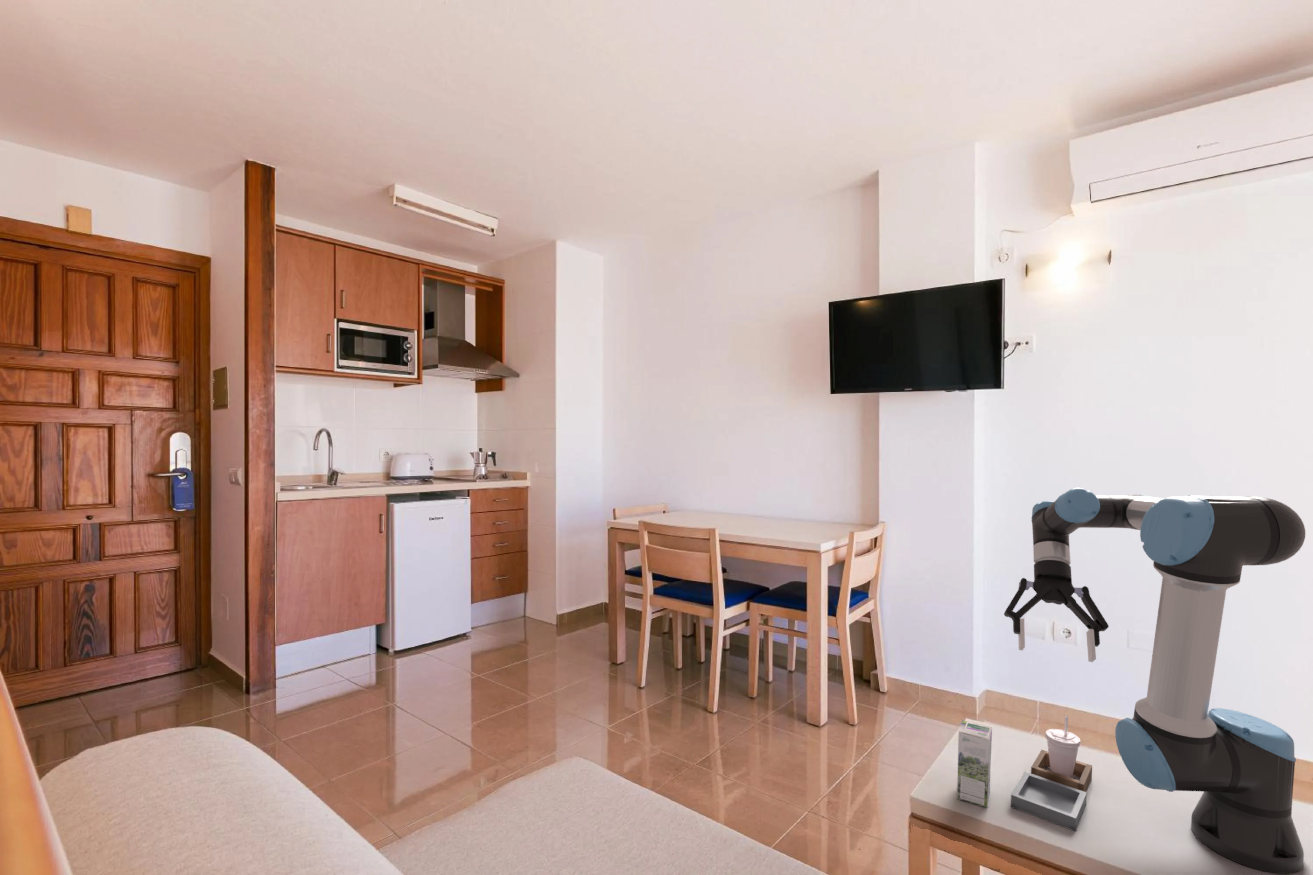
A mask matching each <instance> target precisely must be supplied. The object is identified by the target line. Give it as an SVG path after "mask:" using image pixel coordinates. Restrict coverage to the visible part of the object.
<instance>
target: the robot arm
mask: <svg viewBox="0 0 1313 875" xmlns="http://www.w3.org/2000/svg"><path fill="white" fill-rule="evenodd" d="M1031 511H1032V513H1031V525H1032V529H1031V530H1032V544H1033V546H1032V548H1033V549H1032V550H1033V563H1034V564H1033V578H1034V579H1033V581H1031V580H1027V578H1025V577H1022V578H1021V579H1020V581H1019V582H1018V588H1017V591H1016V593H1015V594H1014V596H1013V598H1011V601H1010V603H1009V604H1008V605H1007V608H1006V609H1005V611H1004V613H1003V615H1004V617H1006V618H1010V619H1011V620H1012V628H1013V630H1012V631H1013V634H1015V635H1018V650H1019V651H1023V650H1025V648H1026V640H1025V639H1026V637H1025V618H1022V617H1023V616H1025V615H1026V614H1027V613H1028V612H1029V611H1030V610H1032V609H1033V607H1035V605H1037V604H1038V603H1039V602H1040V601H1041V600H1042V601H1043V602H1044V603H1047V604H1055V605H1058V606H1059V605H1064V606H1065V607H1066V608H1067V609H1069V610H1070V611H1071V612H1072V613H1073V614H1074V615H1075V616H1076V617H1077V618H1078V619H1079V621H1080V622H1082V623H1083V625H1084V626H1085V627H1086V628H1087V629H1088V630H1087V631H1086V647H1087V657H1088V658H1087V660H1088V662H1090V663H1093V662H1095V660H1097V657H1096V656H1097V652H1096V647H1099V646H1100V644H1101V641H1100V640H1101V639H1100V638H1101V637H1100V632H1105V631H1106V630H1108V628H1109V623H1108V622H1107V621H1106V619H1105V618H1104V617H1105V616H1103V614H1102V612H1101V611H1100V609H1099V608H1098V606H1097V605H1096V602H1094V600H1093V598H1092V597H1091V594H1090V590H1089V587H1088V586H1087V585H1085V586H1082V587H1074V585H1073V581H1072V580H1073V579H1072V566H1071V552H1070V534H1072V533H1074V532H1076V530H1078V529H1081V528H1087V529H1089V528H1092V529H1093V528H1094V529H1105V528H1107V529H1110V528H1111V529H1115V528H1116V529H1131V530H1138V531H1140V532H1139V533H1140V534H1139V537H1140V541H1141V543H1143V545H1142V548H1143V551H1144V553H1145V554H1146V555H1147V557H1148V558H1149V559H1150V560H1152V562H1153V568H1154V569H1155V570H1156V572H1157V573H1159V574H1160V576H1161V577H1162V578H1161V579H1162V580H1161V587H1160V594H1159V603H1158V609H1157V617H1156V618H1157V619H1156V624H1155V625H1156V626H1155V632H1154V639H1153V640H1154V641H1153V646H1152V655H1151V663H1150V670H1149V678H1148V684H1147V694H1146V697H1143V698H1141V699H1138V700H1137V701H1136V702H1135V705H1134V710H1133V717H1132V718H1130V717H1125V718H1122V719H1120V720H1119V721H1118V722H1117V723H1116V726H1115V729H1114V730H1115V732H1114V735H1115V736H1114V737H1115V743H1116V746H1117V750H1118V754H1119V755H1120V757H1121V760H1122V762H1123V764H1124V766H1125V767H1126V768H1127V771H1128V772H1129V773H1130V775H1131V776H1133V778H1134V779H1135V780H1136V781H1137V782H1138V783H1139V784H1141V785H1143V786H1144V787H1147V788H1148V789H1151V790H1161V791H1162V790H1163V791H1166V792H1169V793H1171V792H1176V791H1177V792H1178V791H1180V792H1203V793H1202V794H1201V796H1200V798H1199V800H1198V802H1197V803H1196V806H1195V807H1194V809H1193V811H1192V813H1191V820H1190V828H1191V831H1192V833H1193V835H1194V836H1195V837H1196V838H1197V839H1198V840H1199V841H1200V842H1201V843H1202V844H1204V846H1206V847H1208V848H1209V849H1211V850H1212V851H1214V852H1215V853H1217V854H1219V855H1221V856H1222V857H1224V858H1227V859H1229V860H1230V861H1233V862H1236V863H1238V864H1240V865H1244V866H1246V867H1249V868H1252V869H1256V870H1260V871H1263V872H1269V873H1274V874H1292V873H1297V872H1299V871H1301V870H1302V869H1303V868H1304V856H1305V852H1304V848H1303V845H1302V842H1301V840H1300V837H1299V834H1298V831H1297V828H1296V826H1295V823H1294V820H1293V818H1292V816H1293V814H1292V811H1293V792H1294V781H1295V780H1294V778H1295V769H1296V768H1295V765H1296V761H1297V759H1296V756H1295V742H1294V739H1293V738H1292V736H1291V735H1290V734H1289V733H1288V732H1287V731H1286V730H1284V729H1282V728H1281V727H1279V726H1277V725H1275V724H1273V723H1271V722H1269V721H1267V720H1265V719H1262V718H1259V717H1257V716H1254V715H1251V714H1248V713H1245V712H1242V711H1238V710H1234V709H1227V708H1222V707H1221V708H1220V707H1217V708H1216V707H1215V708H1211V709H1210V710H1209V705H1210V701H1211V700H1210V699H1211V693H1212V687H1213V680H1214V674H1215V667H1216V661H1217V654H1218V648H1219V641H1220V640H1219V639H1220V636H1221V635H1220V633H1221V628H1222V620H1223V614H1224V608H1225V600H1226V596H1227V595H1226V594H1227V590H1228V589H1230V588H1232V587H1234V586H1237V585H1238V584H1240V582H1241V577H1242V570H1243V566H1268V565H1274V564H1279V563H1281V562H1285V561H1287V560H1289V559H1291V558H1292V557H1293V556H1295V555H1296V554H1297V553H1298V552H1299V551H1300V550H1301V548H1302V547H1303V546H1304V542H1305V540H1306V527H1305V524H1304V522H1303V520H1302V519H1301V517H1300V515H1299V514H1298V513H1297V512H1296V511H1295V510H1294V509H1292V508H1291V507H1290V506H1289V505H1286V504H1285V503H1283V502H1281V501H1279V500H1276V499H1272V498H1268V497H1262V496H1250V495H1249V496H1218V495H1214V496H1213V495H1194V494H1188V495H1183V496H1167V497H1164V498H1162V497H1154V496H1151V495H1145V494H1144V495H1142V494H1132V495H1130V494H1127V495H1126V494H1125V495H1121V494H1119V495H1117V494H1116V495H1115V494H1111V495H1109V494H1108V495H1107V494H1095V493H1094V492H1092V491H1091V490H1087V489H1086V488H1082V487H1075V488H1071V489H1069V490H1068V491H1066V492H1064V493H1062V494H1061V495H1059V496H1058V497H1057V499H1056V500H1044V501H1041V502H1037V503H1035V504H1034V505H1033V507H1032V510H1031ZM1030 588H1032V589H1033V591H1034V592H1035V593H1036V594H1035V595H1034V596H1033V597H1031V598H1030V599H1029V600H1028V601H1027V602H1026V603H1025V604H1024V605H1023V606H1022V607H1021V608H1019V609H1018V610H1017V611H1016V612H1015V611H1014V609H1015V607H1016V606H1017V605H1018V602H1019V601H1020V600H1021V598H1022V596H1023V595H1024V592H1025V591H1029V589H1030ZM1074 594H1076V595H1077V597H1078V598H1080V600H1081V602H1082V603H1083V605H1084V606H1085V608H1086V610H1087V612H1088V613H1089V614H1088V613H1087V612H1086V611H1085V610H1084V609H1083V608H1082V607H1081V605H1080V604H1078V602H1077V600H1076V599H1075V598H1074V597H1073V596H1072V595H1074Z"/></svg>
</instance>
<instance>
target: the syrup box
mask: <svg viewBox="0 0 1313 875" xmlns="http://www.w3.org/2000/svg"><path fill="white" fill-rule="evenodd" d="M992 737H993V728H992V726H989V725H984V724H980V723H977V722H973V721H972V722H971V721H968V720H963V719H962V720H961V723H960V725H959V729H958V737H957V738H958V740H957V741H958V743H957V745H958V747H957V778H956V779H957V782H956V783H957V786H956V799H958V800H960V801H963V802H967V803H970V804H974V805H977V806H981V807H983V808H984V807H985V808H988V806H989V801H990V796H991V769H992V768H991V764H992V763H991V761H992V742H993V740H992V739H993V738H992Z"/></svg>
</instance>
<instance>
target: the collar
mask: <svg viewBox="0 0 1313 875" xmlns="http://www.w3.org/2000/svg"><path fill="white" fill-rule="evenodd" d="M1046 767H1047V768H1049V769H1050V761H1049V752H1048V750H1045V749H1041V750H1040V752H1039V753H1038V755H1037V756H1036V758H1035V760H1034V762H1033V764H1032V765H1031V767H1030V773H1031V774H1034V775H1037V776H1040V777H1043V778H1046V779H1048V780H1051V781H1054V782H1057V783H1060V784H1063V785H1066V786H1069V787H1072V788H1075V789H1078V790H1081V791H1084V792H1088V788H1089V786H1090V784H1091V782H1092V779H1093V765H1092V764H1089V763H1085V762H1082V761H1079V760H1076V762H1075V768H1074V773H1073V777H1077V778H1079V780H1078V779H1075V778H1069V777H1066V776H1063V775H1060V774H1057V773H1054V772H1051V770H1047V769H1045V768H1046Z"/></svg>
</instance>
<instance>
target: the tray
mask: <svg viewBox="0 0 1313 875" xmlns="http://www.w3.org/2000/svg"><path fill="white" fill-rule="evenodd" d="M1087 792H1088V791H1087ZM1087 792H1084V791H1081V790H1078V789H1075V788H1072V787H1069V786H1066V785H1063V784H1060V783H1057V782H1054V781H1051V780H1048V779H1046V778H1043V777H1040V776H1037V775H1034V774H1031V772H1027V771H1024V772H1023V774H1022V776H1021V777H1020V779H1019V780H1018V783H1017V784H1016V786H1015V788H1014V789H1013V790H1012V793H1011V795H1010V808H1013V809H1015V810H1018V811H1020V812H1024V813H1025V814H1028V815H1031V816H1035V817H1037V818H1039V819H1042V820H1044V821H1047V822H1050V823H1052V824H1056V825H1058V826H1060V827H1064V828H1066V829H1068V830H1071V831H1073V832H1076V831H1077V829H1078V827H1079V825H1080V824H1079V823H1080V821H1081V818H1082V816H1083V814H1084V811H1085V809H1086V806H1087V797H1088V796H1087V795H1088V794H1087Z"/></svg>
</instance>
